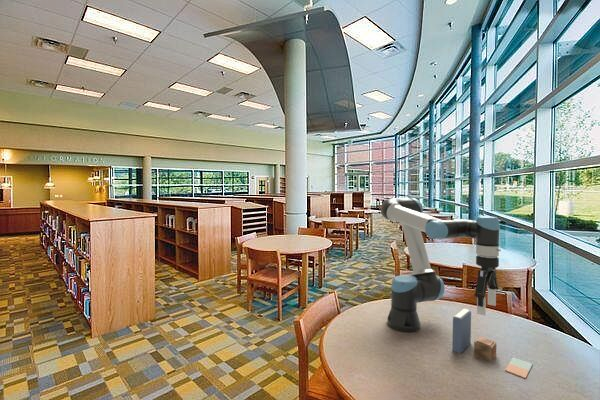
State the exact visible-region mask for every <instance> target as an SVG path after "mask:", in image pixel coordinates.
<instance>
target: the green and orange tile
mask: <svg viewBox="0 0 600 400" xmlns="http://www.w3.org/2000/svg"><path fill="white" fill-rule="evenodd" d="M504 371H505V372H507V373H509V374H512V375H515V376H517V377H519V378H522V379H524V380H525V379H527V376H528V375H529V372H530V371H529V370H526V369H524V368H521V367H518V366H515V365H513V364H510V362H509V363H508V364H507V366H506V368H505V369H504Z"/></svg>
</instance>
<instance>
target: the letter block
mask: <svg viewBox="0 0 600 400" xmlns="http://www.w3.org/2000/svg"><path fill="white" fill-rule="evenodd" d="M473 356H476V357H477V358H480V359H483V360H485V361H488V362H493V361H494V359H495V358H496V356H497V342H496V341H494V340H492V339H489V338H485V337H483V336H478V337H477V338H476V339H475V340H474V343H473Z"/></svg>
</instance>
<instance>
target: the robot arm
mask: <svg viewBox="0 0 600 400" xmlns="http://www.w3.org/2000/svg"><path fill="white" fill-rule="evenodd" d="M423 212H424V207H423V204H422V203H421V201H420V200H419V199H417V198H414V197H389V198H387V199H386V200H384V201H383V202H382V203H381V205H380V213H381V215H382V217H383V218H384V219H386V220H389V221H391V222H398V225H399V226H401V227H402V230H403V236H404V238H405V239H404V240H405V243H406V247H407V251H408V255H409V259H410V262H411V266H412V267H411V268H412V270H413V271H412V273H411V274H399V275H395V277H393V278H392V279H391V285H390V289H391V293H390V294H391V296H390V310H389V313H388V316H387V321H386V322H387V323H386V324H387V325H388V327H390V328H391V329H393V330H395V331H397V332H398V331H399V332H403V333H414V332H417V331H420V329H421V321H420V318H419V314H418V311H417V308H418V307H417V304H418V303H424V302H435V301H436V300H437V301H438V300H440V299H441V298H442V297H443V296H444V294H445V291H446V290H445V283H444V281H443V279H442V278H441V277H440V276H439V275H436V274H437V273H436V271H435V270H434V269H432V266H431V263H430V260H429V257H428V252H427V249H426V244H425V241H424V238H423V234H422V233H425V234H426V235H427V237H428V238H429V239H432V240H446V239H460V238H461V239H462V238H466V239H467V238H468V239H475V241H476V243H475V246H476V247H475V253H476V255H475V265H477V266H479V267H481V269H480V270H478V271H477V280H476V285H475V293H474V294H473V295H474V297H476V315H480V316H486V312H487V311H486V304H487V305H490V306H494V307H496V305H497V303H496V301H497V290H499V286H498V279H497V278H498V277H497V272H496V270H497V268H498V267H499V265H500V261H499V260H500V258H499V254H500V253H499V252H501V251H502V250H501V248H499V246H500V243H499V239H500V231H501V228H500V219H499V218H498V217H497V216H489V215H487V216H485V215H484V216H483V215H479V216H477V217H476V219H465V218H453V219H446V220H444V219H440V218H437V217H434V216H431V215H428V214H426V213H423ZM486 294H487V298H486ZM486 299H487V301H486ZM486 302H487V303H486Z"/></svg>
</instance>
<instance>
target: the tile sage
mask: <svg viewBox="0 0 600 400" xmlns="http://www.w3.org/2000/svg"><path fill="white" fill-rule="evenodd" d="M509 363H510V364H513V365H515V366H518V367H521V368H524V369H526V370H529V372H530V371H531V369H532V366H533V363H531V362H528V361H525V360H522V359H519V358H516V357H512V358H511V359H510V361H509Z"/></svg>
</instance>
